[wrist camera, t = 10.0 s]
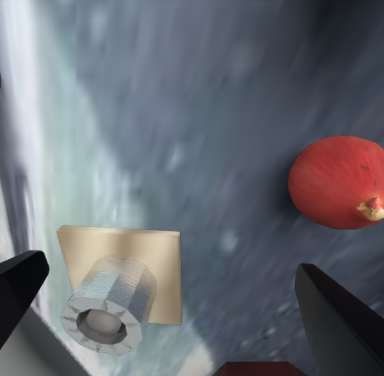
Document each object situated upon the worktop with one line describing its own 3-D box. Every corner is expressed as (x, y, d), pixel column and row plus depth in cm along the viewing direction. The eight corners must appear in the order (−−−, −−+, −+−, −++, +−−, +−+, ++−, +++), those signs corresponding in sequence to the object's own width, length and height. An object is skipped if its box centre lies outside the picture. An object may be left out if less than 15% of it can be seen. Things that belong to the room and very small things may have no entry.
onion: (370, 140, 16) (495, 179, 9) (330, 206, 19) (403, 278, 11) (296, 118, 16) (362, 138, 9) (264, 186, 19) (296, 246, 11)
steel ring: (158, 307, 24) (145, 357, 20) (97, 302, 25) (71, 349, 20) (154, 257, 22) (137, 301, 17) (85, 252, 22) (51, 294, 18)
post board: (179, 231, 21) (167, 280, 16) (182, 317, 26) (173, 377, 20) (62, 225, 22) (12, 268, 17) (85, 308, 27) (52, 363, 22)
